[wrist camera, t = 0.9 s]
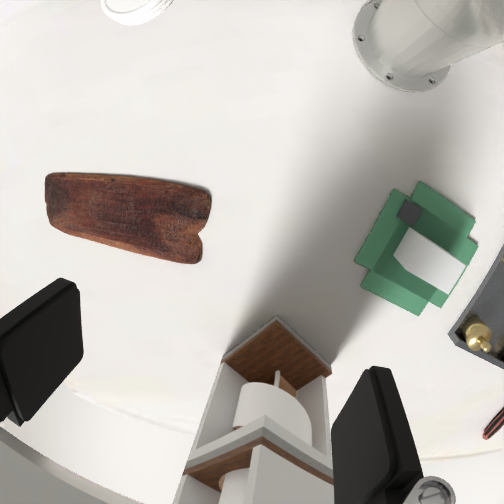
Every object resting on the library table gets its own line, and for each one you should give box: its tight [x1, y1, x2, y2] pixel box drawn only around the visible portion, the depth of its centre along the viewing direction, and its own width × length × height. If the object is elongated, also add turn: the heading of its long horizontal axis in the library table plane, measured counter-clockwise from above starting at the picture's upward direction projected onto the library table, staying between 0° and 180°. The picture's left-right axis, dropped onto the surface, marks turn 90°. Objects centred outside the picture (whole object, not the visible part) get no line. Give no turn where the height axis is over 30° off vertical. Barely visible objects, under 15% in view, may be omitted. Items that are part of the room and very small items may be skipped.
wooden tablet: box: [45, 173, 211, 264], centre depth 39 cm, size 26×2×10 cm
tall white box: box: [173, 315, 334, 504], centre depth 27 cm, size 11×11×35 cm
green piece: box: [354, 181, 479, 316], centre depth 34 cm, size 15×15×6 cm
